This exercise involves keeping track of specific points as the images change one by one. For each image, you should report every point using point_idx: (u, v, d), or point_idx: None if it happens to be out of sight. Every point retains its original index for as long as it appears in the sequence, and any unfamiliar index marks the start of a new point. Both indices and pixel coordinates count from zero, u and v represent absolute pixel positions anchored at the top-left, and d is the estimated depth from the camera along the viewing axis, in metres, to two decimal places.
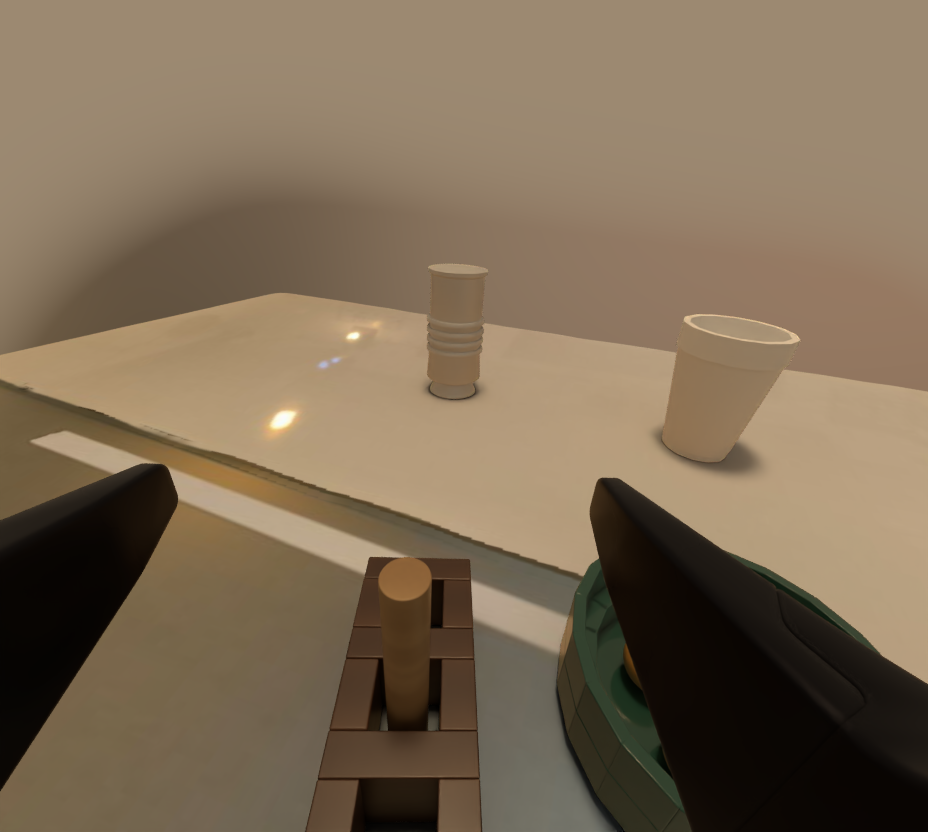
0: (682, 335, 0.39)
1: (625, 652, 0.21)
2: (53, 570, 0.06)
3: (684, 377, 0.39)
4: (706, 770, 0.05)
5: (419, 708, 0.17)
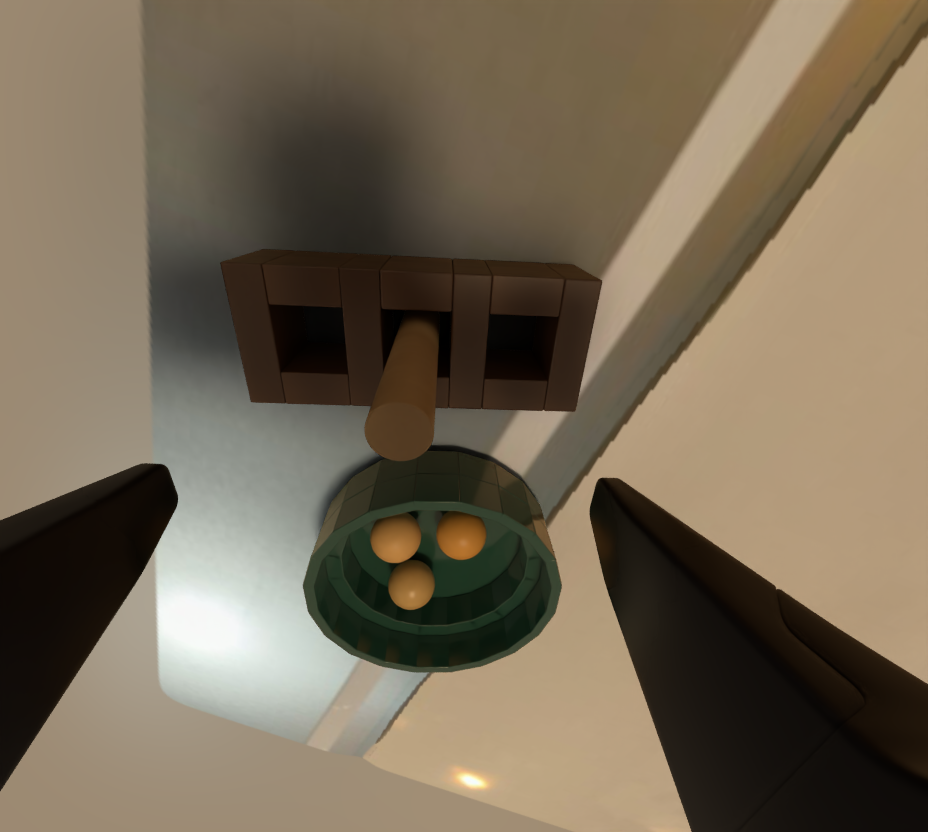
0: None
1: (468, 517, 0.24)
2: (53, 570, 0.06)
3: None
4: (706, 770, 0.05)
5: None
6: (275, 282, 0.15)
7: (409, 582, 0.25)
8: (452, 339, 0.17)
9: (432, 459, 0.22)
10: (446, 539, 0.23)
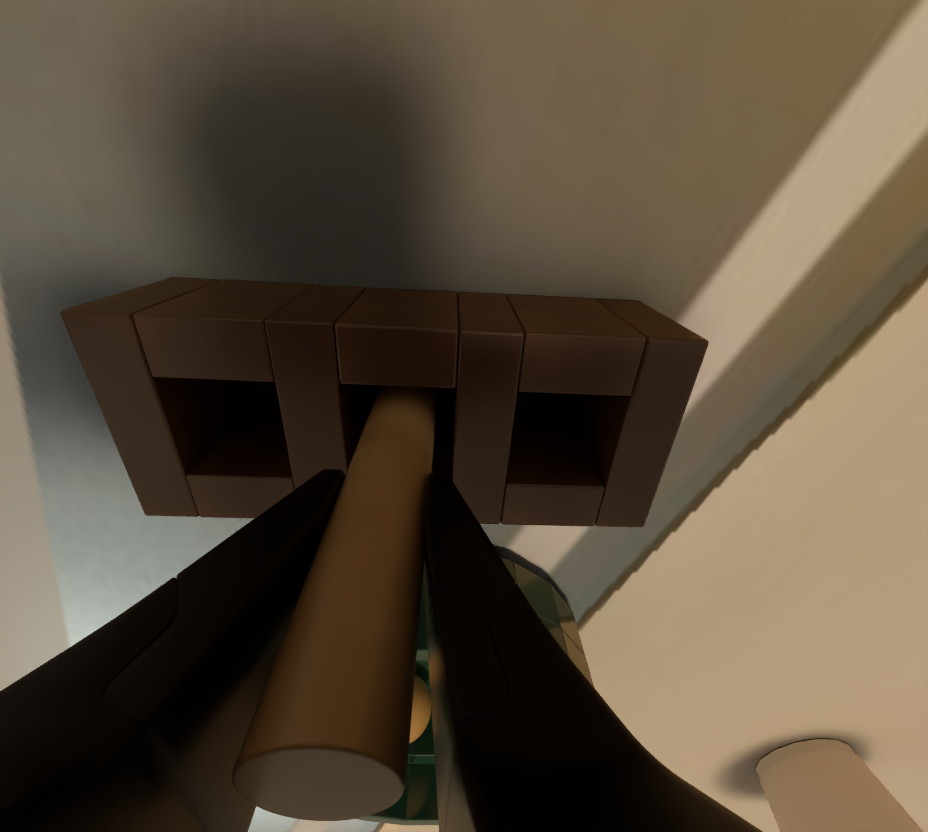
0: None
1: None
2: (297, 575, 0.06)
3: None
4: (439, 771, 0.05)
5: None
6: (158, 343, 0.09)
7: None
8: (456, 429, 0.10)
9: None
10: None
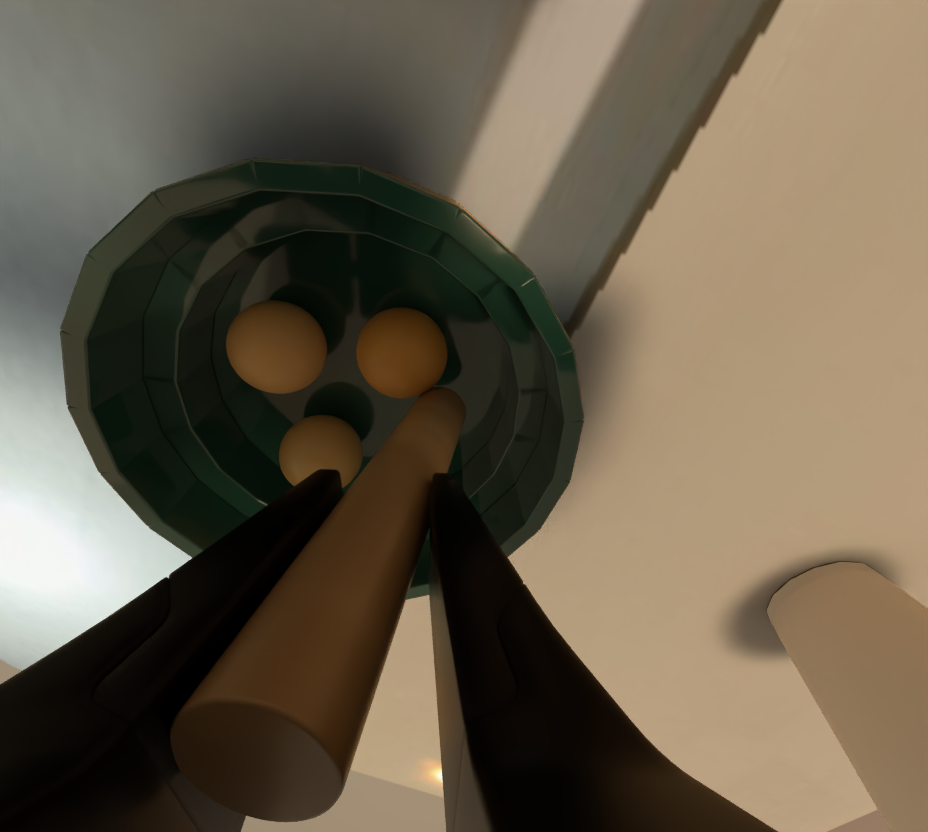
0: None
1: (411, 317, 0.13)
2: None
3: None
4: (447, 771, 0.05)
5: None
6: None
7: (309, 439, 0.14)
8: None
9: None
10: (371, 358, 0.12)
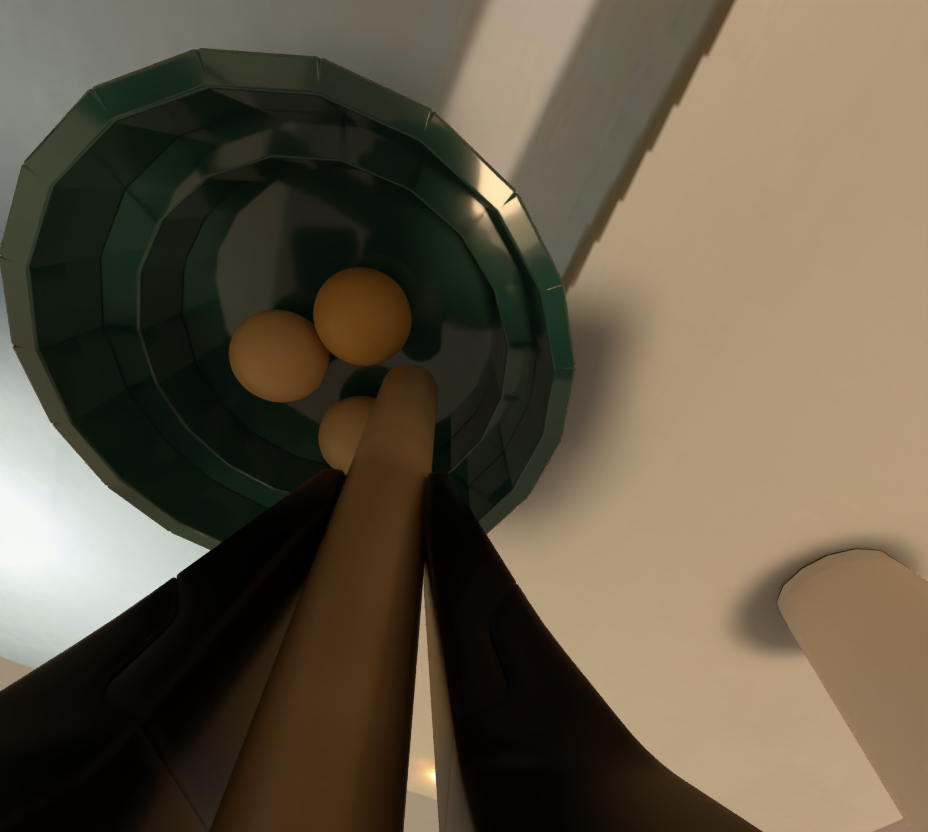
0: None
1: (372, 293, 0.12)
2: (296, 575, 0.06)
3: None
4: (439, 771, 0.05)
5: None
6: None
7: None
8: None
9: None
10: (323, 325, 0.12)
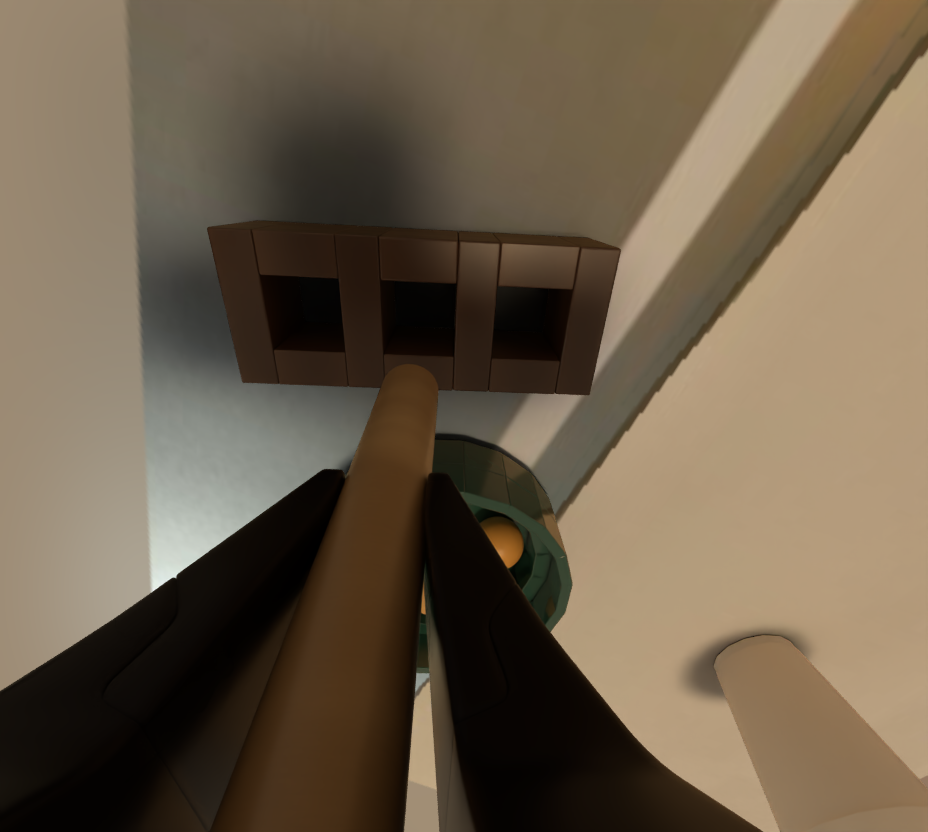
0: None
1: None
2: (296, 575, 0.06)
3: (853, 755, 0.24)
4: (439, 771, 0.05)
5: None
6: (266, 250, 0.14)
7: None
8: (457, 314, 0.15)
9: (436, 448, 0.21)
10: (518, 559, 0.23)
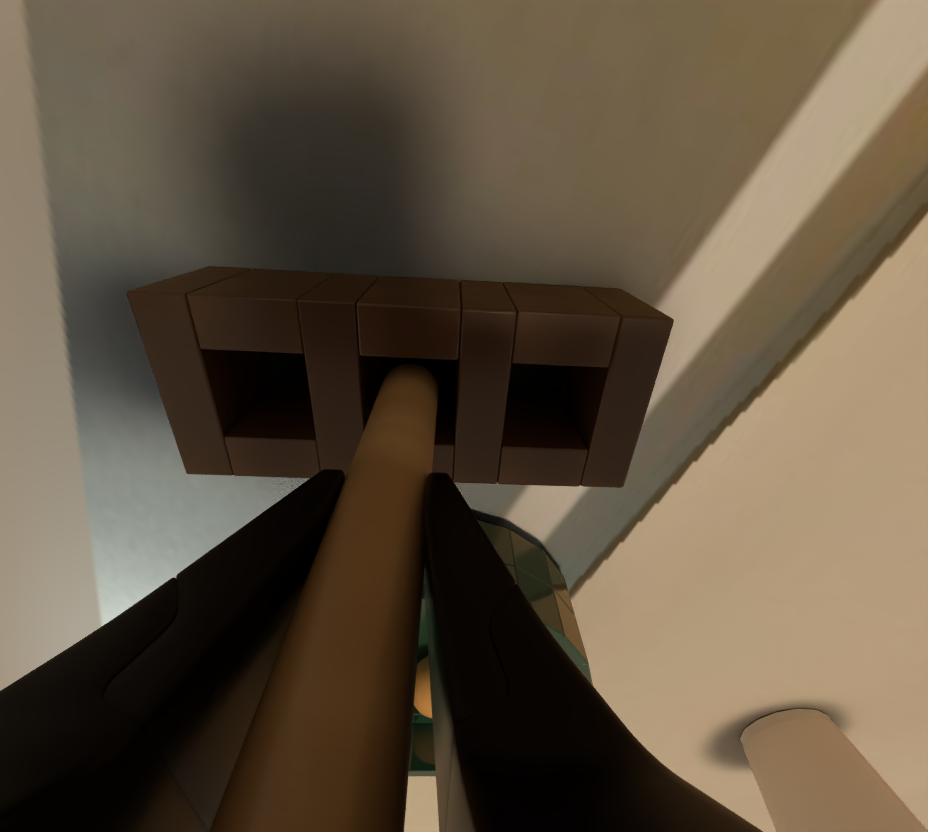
0: None
1: None
2: (296, 575, 0.06)
3: None
4: (439, 771, 0.05)
5: None
6: (207, 319, 0.11)
7: None
8: (459, 396, 0.12)
9: None
10: None
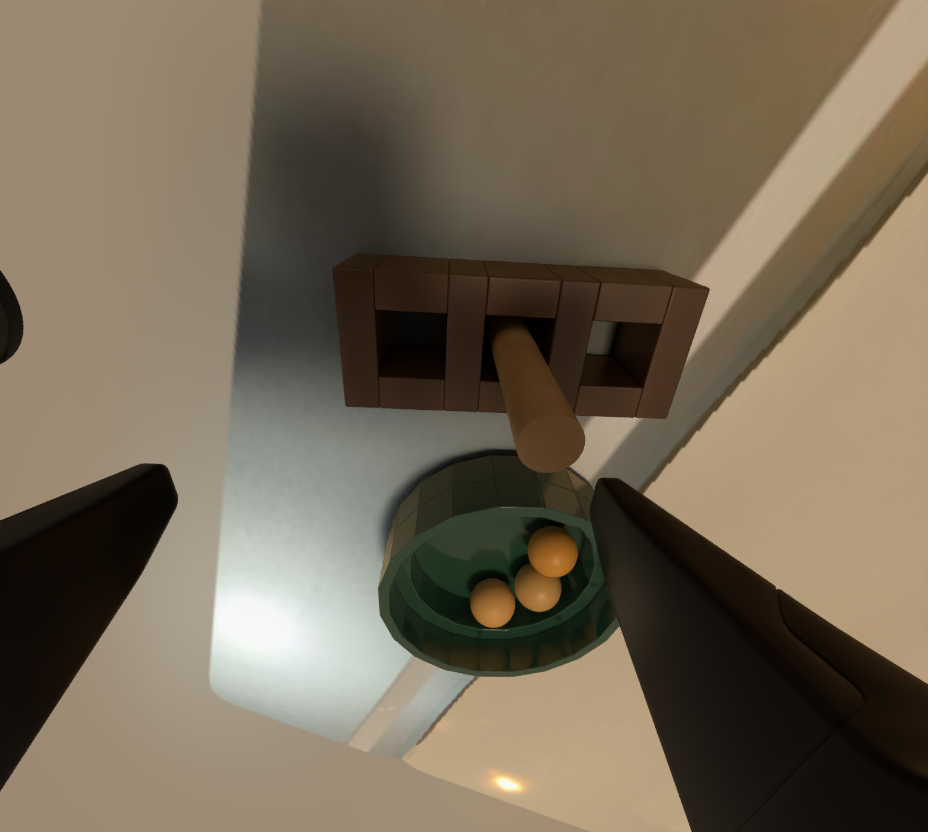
0: None
1: None
2: (53, 570, 0.06)
3: None
4: (706, 770, 0.05)
5: None
6: (384, 288, 0.15)
7: None
8: (553, 345, 0.17)
9: (507, 464, 0.22)
10: (570, 568, 0.24)
